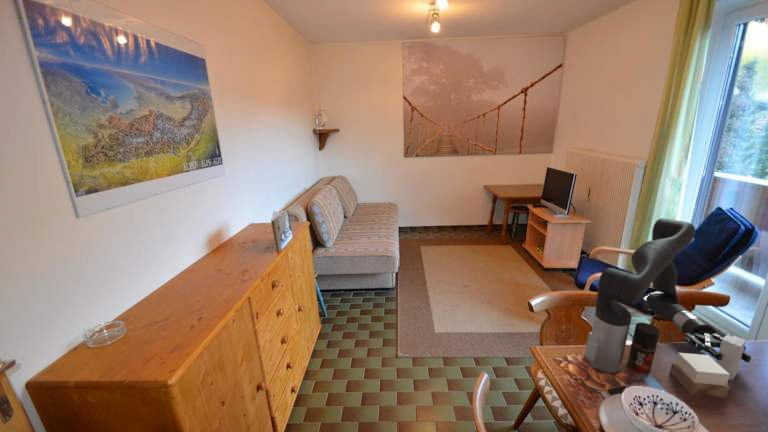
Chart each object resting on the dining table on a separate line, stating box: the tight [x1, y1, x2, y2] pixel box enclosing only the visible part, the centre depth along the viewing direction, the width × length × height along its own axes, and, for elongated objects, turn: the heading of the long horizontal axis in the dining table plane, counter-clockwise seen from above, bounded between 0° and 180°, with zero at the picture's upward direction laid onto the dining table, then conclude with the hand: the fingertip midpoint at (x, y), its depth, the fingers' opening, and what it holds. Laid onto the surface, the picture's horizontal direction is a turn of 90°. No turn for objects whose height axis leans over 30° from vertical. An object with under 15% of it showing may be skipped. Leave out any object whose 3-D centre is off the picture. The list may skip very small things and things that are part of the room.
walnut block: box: [669, 361, 731, 399], centre depth 97 cm, size 9×9×4 cm
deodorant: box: [626, 322, 661, 376], centre depth 102 cm, size 6×6×15 cm
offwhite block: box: [675, 352, 730, 386], centre depth 96 cm, size 8×8×4 cm
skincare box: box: [715, 333, 747, 381], centre depth 100 cm, size 6×4×12 cm
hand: (734, 358), depth 98 cm, fingers closed on skincare box, 7 cm apart
